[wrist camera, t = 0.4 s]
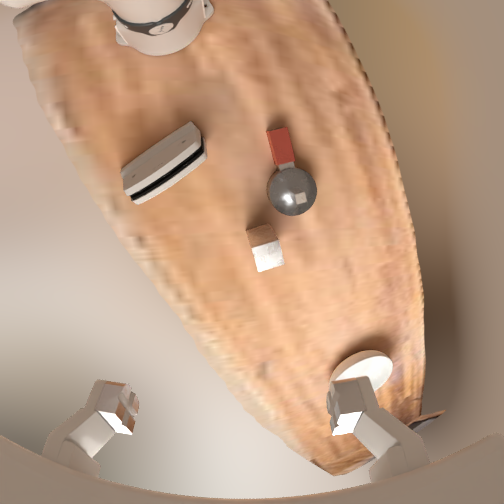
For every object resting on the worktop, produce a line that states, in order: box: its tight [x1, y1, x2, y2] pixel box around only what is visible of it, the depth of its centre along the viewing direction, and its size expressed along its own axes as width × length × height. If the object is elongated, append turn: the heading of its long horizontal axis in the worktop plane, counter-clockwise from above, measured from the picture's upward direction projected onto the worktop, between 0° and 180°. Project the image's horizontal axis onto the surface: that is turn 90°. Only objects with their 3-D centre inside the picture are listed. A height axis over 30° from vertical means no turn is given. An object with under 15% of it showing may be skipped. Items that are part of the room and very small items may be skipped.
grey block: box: [246, 223, 285, 272], centre depth 54 cm, size 5×5×9 cm
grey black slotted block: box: [120, 121, 207, 205], centre depth 46 cm, size 17×5×10 cm, turn 120°
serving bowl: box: [329, 350, 393, 391], centre depth 76 cm, size 21×21×7 cm
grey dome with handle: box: [266, 127, 317, 216], centre depth 49 cm, size 16×9×8 cm, turn 15°
